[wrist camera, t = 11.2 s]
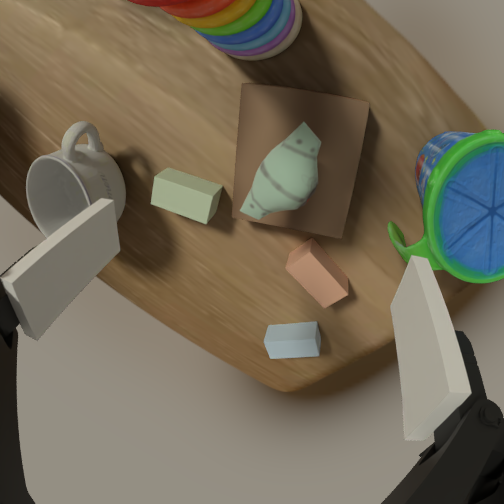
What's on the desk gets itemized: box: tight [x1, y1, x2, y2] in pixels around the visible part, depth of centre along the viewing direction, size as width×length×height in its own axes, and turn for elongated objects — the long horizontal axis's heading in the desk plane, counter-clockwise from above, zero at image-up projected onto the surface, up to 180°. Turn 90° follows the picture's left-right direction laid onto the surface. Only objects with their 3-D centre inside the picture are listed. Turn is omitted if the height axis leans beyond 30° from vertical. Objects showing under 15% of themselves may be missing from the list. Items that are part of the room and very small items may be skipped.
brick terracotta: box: [285, 238, 348, 308], centre depth 31 cm, size 6×3×3 cm, turn 45°
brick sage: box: [151, 168, 223, 224], centre depth 30 cm, size 6×3×3 cm, turn 74°
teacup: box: [26, 121, 126, 238], centre depth 29 cm, size 14×11×8 cm
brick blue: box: [264, 321, 321, 359], centre depth 37 cm, size 6×3×3 cm, turn 107°
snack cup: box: [388, 130, 504, 283], centre depth 20 cm, size 16×10×10 cm
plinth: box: [232, 83, 370, 239], centre depth 26 cm, size 10×12×2 cm
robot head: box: [240, 122, 321, 220], centre depth 22 cm, size 8×4×7 cm, turn 147°
